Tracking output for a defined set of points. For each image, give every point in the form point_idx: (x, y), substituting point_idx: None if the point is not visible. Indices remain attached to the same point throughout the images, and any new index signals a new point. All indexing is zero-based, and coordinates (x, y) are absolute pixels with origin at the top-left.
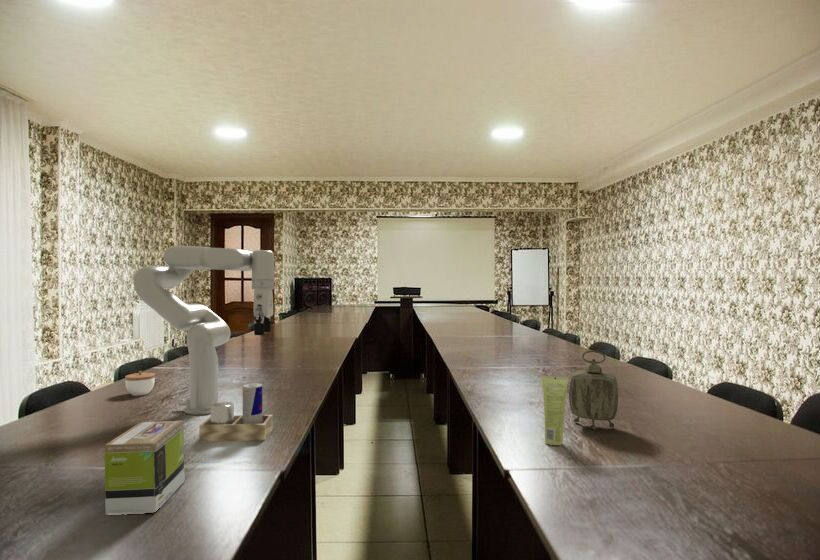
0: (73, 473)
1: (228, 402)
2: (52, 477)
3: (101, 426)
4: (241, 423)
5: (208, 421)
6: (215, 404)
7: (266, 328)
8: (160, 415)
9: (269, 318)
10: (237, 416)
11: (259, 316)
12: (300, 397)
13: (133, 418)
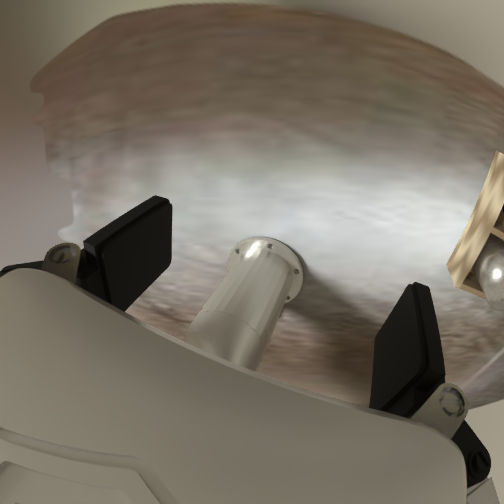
0: (478, 384)
1: (496, 276)
2: (474, 393)
3: (313, 384)
4: (494, 224)
5: (481, 290)
6: (493, 301)
7: (155, 243)
8: (280, 332)
9: (76, 274)
10: (487, 237)
11: (481, 480)
12: (195, 49)
13: (285, 359)
